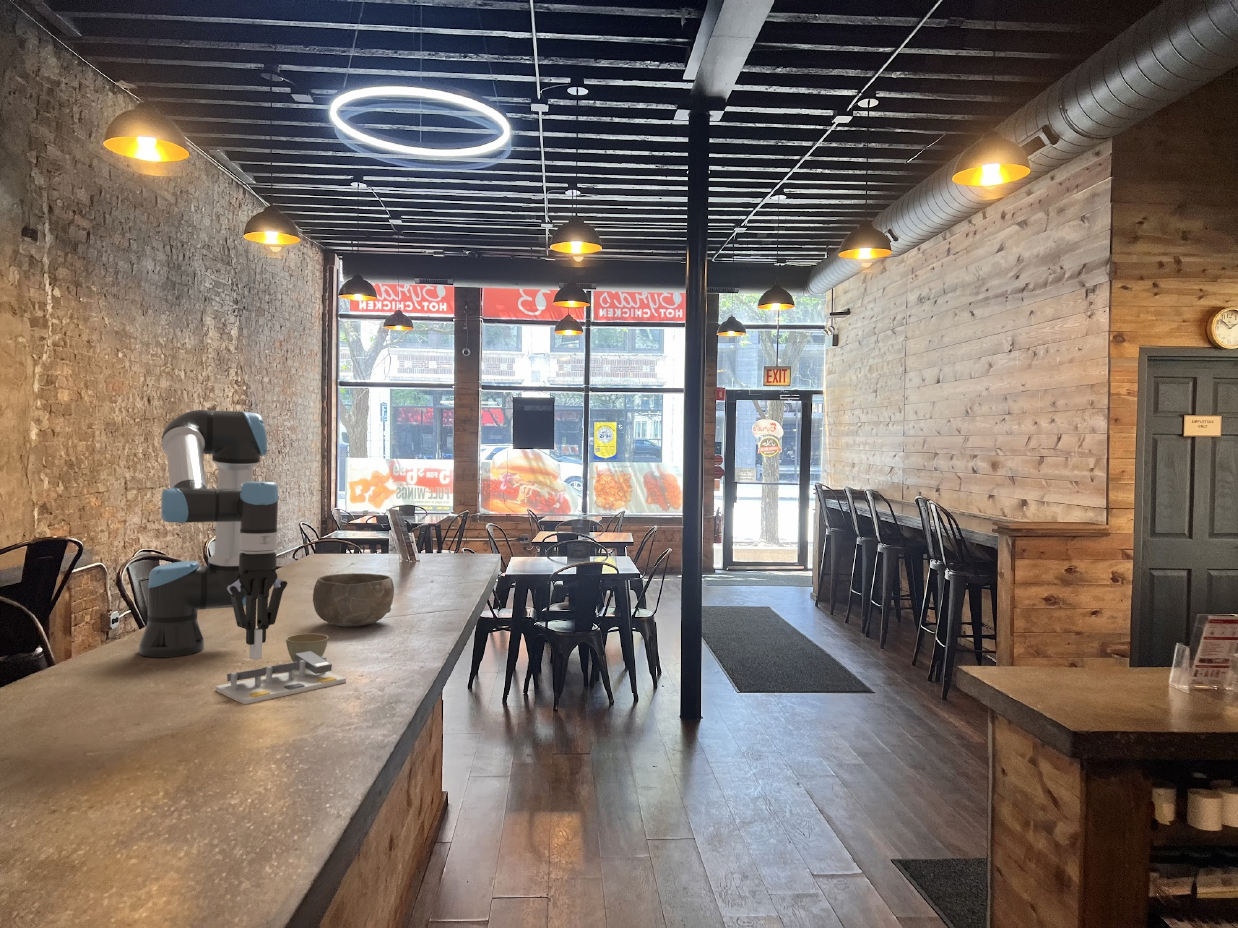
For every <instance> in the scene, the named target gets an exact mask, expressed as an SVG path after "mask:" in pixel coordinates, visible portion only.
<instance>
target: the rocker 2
mask: <svg viewBox="0 0 1238 928" xmlns="http://www.w3.org/2000/svg"><path fill="white" fill-rule="evenodd" d="M291 662H292V663H289V662H286V663H281V664H274V665H270V667H272V674H280V673H286V672H289V671H291V670H295V671H296V670H299V669H300V665H299V662H293V661H291ZM266 667H267V666H265V667H263V668H265V673H266Z"/></svg>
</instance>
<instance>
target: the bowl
mask: <svg viewBox="0 0 1238 928" xmlns="http://www.w3.org/2000/svg"><path fill="white" fill-rule="evenodd" d="M394 596H395V586H394V581H393V579H392V577H391V576H389V575H385V574H377V573H363V572H362V573H359V572H358V573H353V572H352V573H338V574H337V573H336V574H328V575H323V576H320V577H318V578H317V580H316V581H315V584H314V587H313V593H312V603H313V608H314V611H315V613H316V615H317V616H318V617H319V619H320V620H323V621H324V622H325V623H328V624H331V625H334V626H341V627H363V626H368V625H371V624H375V623H377V622H378V621H380V620H382V619H383V618H384V617H385V616H386V615H387V614H389V613H390V612H391V610H392V608H391V606H392V604H393V602H394Z"/></svg>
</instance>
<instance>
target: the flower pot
mask: <svg viewBox="0 0 1238 928" xmlns="http://www.w3.org/2000/svg"><path fill="white" fill-rule="evenodd" d="M285 640H286V648H287V651H288V654H289V656H290V659H291V662H297V661H295V654H296V653H302V652H308V651H311V652H313V653H315V654H316V655H318V656H319V657H321V656H324V654H325V652H326V649H327V646H328V642H329V635H326V634H322V633H298V634H294V635H290V636H289V635H288V636H286V639H285ZM305 669H307V668H306V667H305Z"/></svg>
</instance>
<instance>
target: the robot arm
mask: <svg viewBox="0 0 1238 928" xmlns="http://www.w3.org/2000/svg"><path fill="white" fill-rule="evenodd" d="M267 441H268V439H267V432H266V426H265V421H264V419H263V417H262V416H261V414H259V413H256V412H249V411H242V410H241V411H238V410H236V411H235V410H207V409H195V410H191V411H188V412H187V411H186V412H185V413H183V414H180V415H178V416H177V417H175V418H174V419H173V420H172V421H170V423H168V425H167V426H166V427H165V428H164V430H163V431H162V434H161V448H162V451H163V453H164V454H165V455H166V456H167V468H168V479H169V480H168V482H169V488H165V489H163V491H161V503H160V505H161V506H160V507H161V508H160V510H161V512H160V515H161V519H162V521H163V522H165V523H179V524H184V523H185V524H186V523H215V538H214V539H215V541H214V553H213V554H212V555H211V556H210V557H209V558H208V560H207V565H204V566H200V563H199V561H197V560H185V561H184V560H183V561H182V560H181V561H176V562H170V563H166V564H165V563H164V564H161V565H158V566H156V567H154V568H151V570H150V572H149V575H148V584H147V588H148V597H147V598H148V600H147V601H148V602H147V603H148V604H147V624H146V626H145V629H144V631H143V634H142V637H141V639H140V642H139V646H138V654H139V655H141V656H144V657H148V658H172V657H180V656H181V657H182V656H187V655H192V654H195V653H198V652H202V651H203V650H204V648H205V639H204V638H205V637H204V635H203V632H202V630H201V627H200V623H199V621H198V611H200V610H213V609H214V610H215V609H217V610H218V609H228V608H229V609H231V608H232V609H233V612H234V617H235V621H236V622H235V623H236V626H237V627H238V628H241V629H244V630H245V643H246V644H247V645H249V653H248V655H249V656H248V657H249V659H251V660H254V661H257V660H262V659H263V657H262V656H263V644H264V643H266V640H267V630H268V629H269V627H270V626H272V625H275V623H276V620H277V616H278V612H279V609H280V605H281V600H282V596H283V592H284V590H285V589H286V587H287V586H288V581H287V580H282V579H280V578H279V577H278V573H277V570H276V569H277V553H276V551H275V550H277V549H278V548H277V547H278V545H277V543H278V510H279V508H278V505H279V498H280V496H279V489H278V488H279V487H278V484H277V483H276V482H273V481H254V469H255V467H257V466H258V465H259V464H260V463H261V457H264V456H266V455H267V451H268V449H267V448H268V442H267ZM203 455H212V459H211V461H212V462H213V464H215V465H216V466H217V488H208V484H207V480H206V472H205V465H204V458H203ZM272 587H273V588H272ZM271 589H272V591H271V595H270V590H271ZM269 597H270V598H269Z"/></svg>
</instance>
